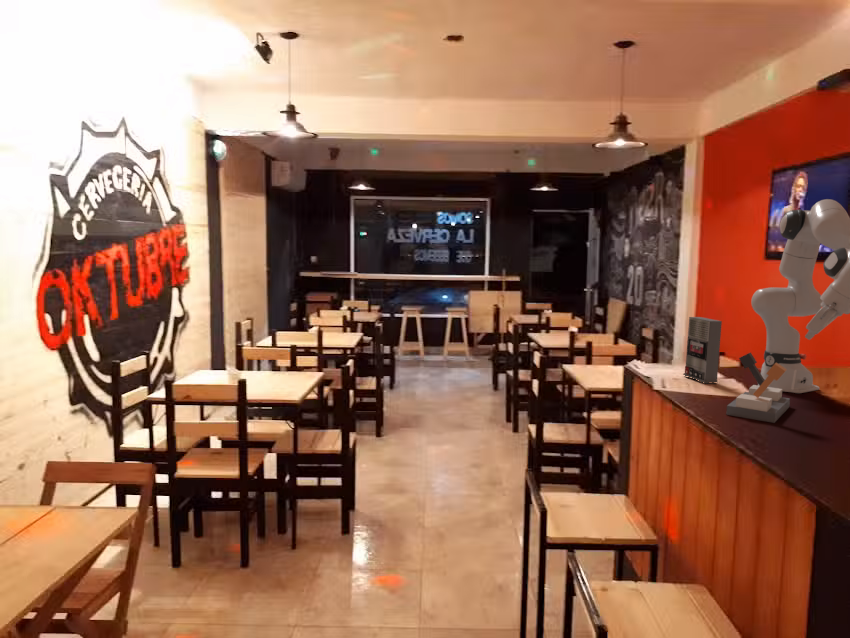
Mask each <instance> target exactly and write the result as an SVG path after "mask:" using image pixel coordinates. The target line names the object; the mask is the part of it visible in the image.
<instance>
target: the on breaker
mask: <svg viewBox="0 0 850 638" xmlns="http://www.w3.org/2000/svg"><path fill="white" fill-rule="evenodd" d="M738 359H739V361H740V363H741V364H742V365H743V367H744V369H746V368H748V369H749V371H750V373H751V374H752V376H753V377H754V379H755V380H756V382H758V383H757V385H758V384H759V385H761V384H762V383H763V382H764V381H765V380H764V378H763V377H762V375H761V371H759V368H758V367H757V366H756V364H757V363H758V361H757V360H756V358H755V357H754V355H753V354H752V352H748V353H746V354H745V355H742V356H740V357H739V358H738Z"/></svg>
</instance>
